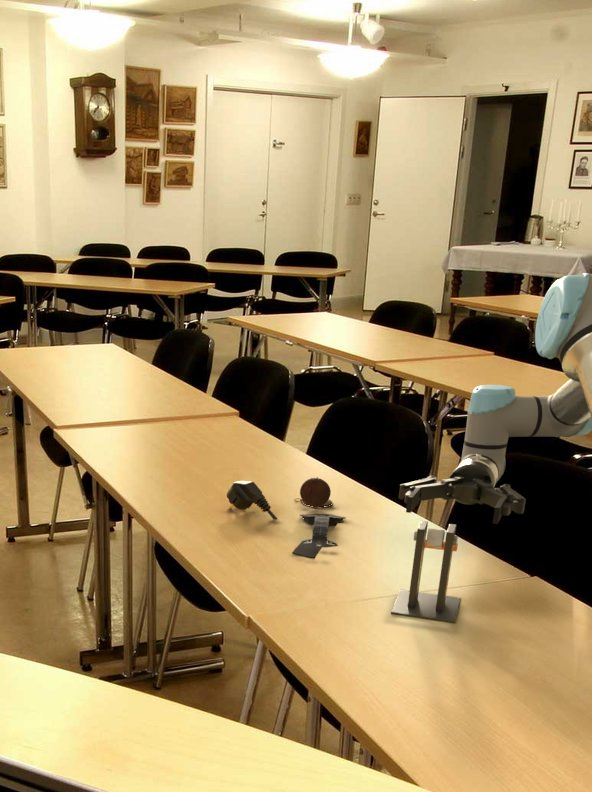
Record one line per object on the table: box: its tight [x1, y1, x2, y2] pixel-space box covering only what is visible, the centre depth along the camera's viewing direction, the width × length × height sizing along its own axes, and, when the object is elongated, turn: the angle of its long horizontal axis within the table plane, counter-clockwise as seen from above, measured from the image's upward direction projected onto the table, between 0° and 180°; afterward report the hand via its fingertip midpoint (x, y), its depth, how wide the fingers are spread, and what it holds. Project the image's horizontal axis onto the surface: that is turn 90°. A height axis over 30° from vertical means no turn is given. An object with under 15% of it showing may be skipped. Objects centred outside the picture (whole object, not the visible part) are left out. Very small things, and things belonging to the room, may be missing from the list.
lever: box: [424, 528, 459, 552], centre depth 140 cm, size 13×6×2 cm, turn 154°
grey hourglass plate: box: [291, 512, 347, 559], centre depth 173 cm, size 9×25×3 cm, turn 163°
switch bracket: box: [390, 520, 462, 624], centre depth 138 cm, size 10×9×14 cm
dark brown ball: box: [293, 476, 334, 509], centre depth 191 cm, size 8×8×7 cm
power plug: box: [226, 480, 278, 520], centre depth 188 cm, size 6×8×12 cm
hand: (451, 510), depth 151 cm, fingers open, 13 cm apart
